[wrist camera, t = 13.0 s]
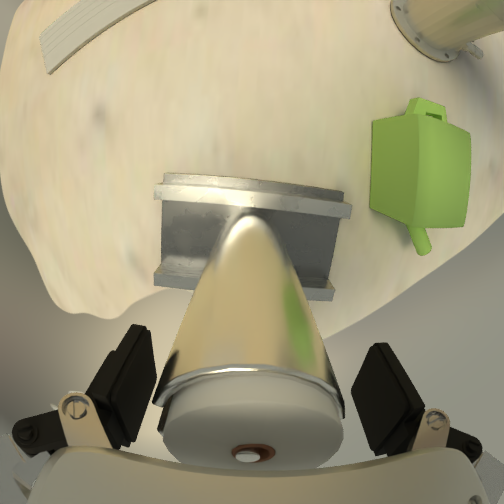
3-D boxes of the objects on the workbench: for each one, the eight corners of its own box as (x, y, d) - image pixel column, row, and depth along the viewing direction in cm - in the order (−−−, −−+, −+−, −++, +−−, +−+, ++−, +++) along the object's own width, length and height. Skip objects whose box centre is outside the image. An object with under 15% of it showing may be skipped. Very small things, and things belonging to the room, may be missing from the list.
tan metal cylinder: (244, 195, 29) (215, 351, 5) (290, 231, 30) (391, 431, 6) (208, 241, 30) (116, 447, 7) (254, 274, 32) (262, 497, 8)
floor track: (341, 191, 30) (353, 195, 26) (321, 293, 34) (330, 308, 30) (166, 172, 29) (155, 174, 25) (163, 279, 33) (154, 293, 29)
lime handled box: (422, 242, 32) (466, 267, 24) (364, 243, 32) (404, 273, 23) (430, 114, 26) (480, 110, 17) (370, 98, 26) (416, 83, 17)
